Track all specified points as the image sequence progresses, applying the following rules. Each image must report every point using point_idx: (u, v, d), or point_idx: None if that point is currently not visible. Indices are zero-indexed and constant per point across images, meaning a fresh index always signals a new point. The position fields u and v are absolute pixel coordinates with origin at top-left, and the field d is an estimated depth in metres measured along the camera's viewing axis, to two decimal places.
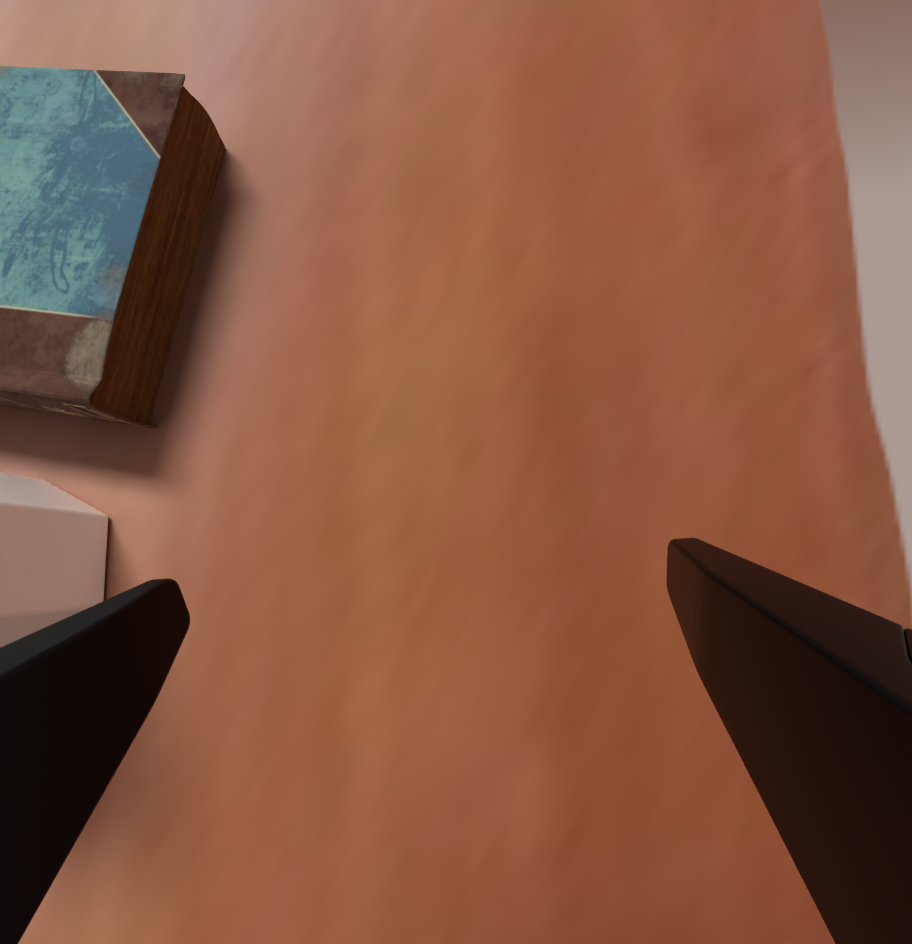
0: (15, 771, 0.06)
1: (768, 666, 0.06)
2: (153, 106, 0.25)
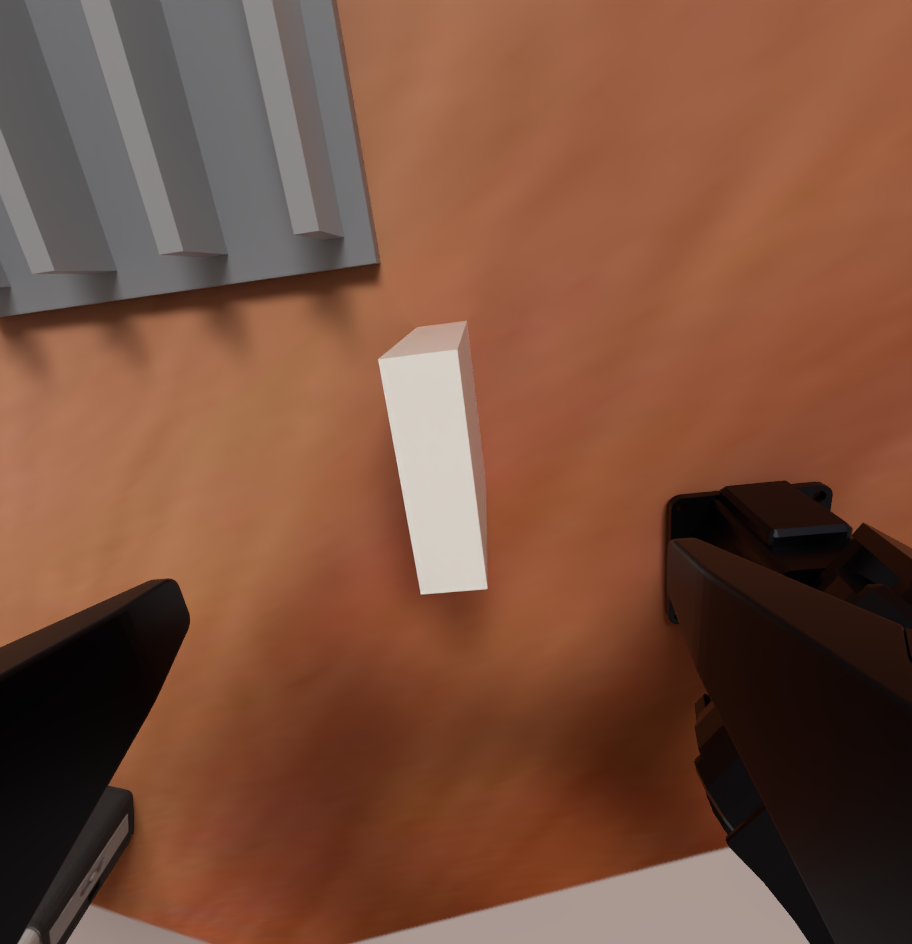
0: (15, 771, 0.06)
1: (768, 666, 0.06)
2: None
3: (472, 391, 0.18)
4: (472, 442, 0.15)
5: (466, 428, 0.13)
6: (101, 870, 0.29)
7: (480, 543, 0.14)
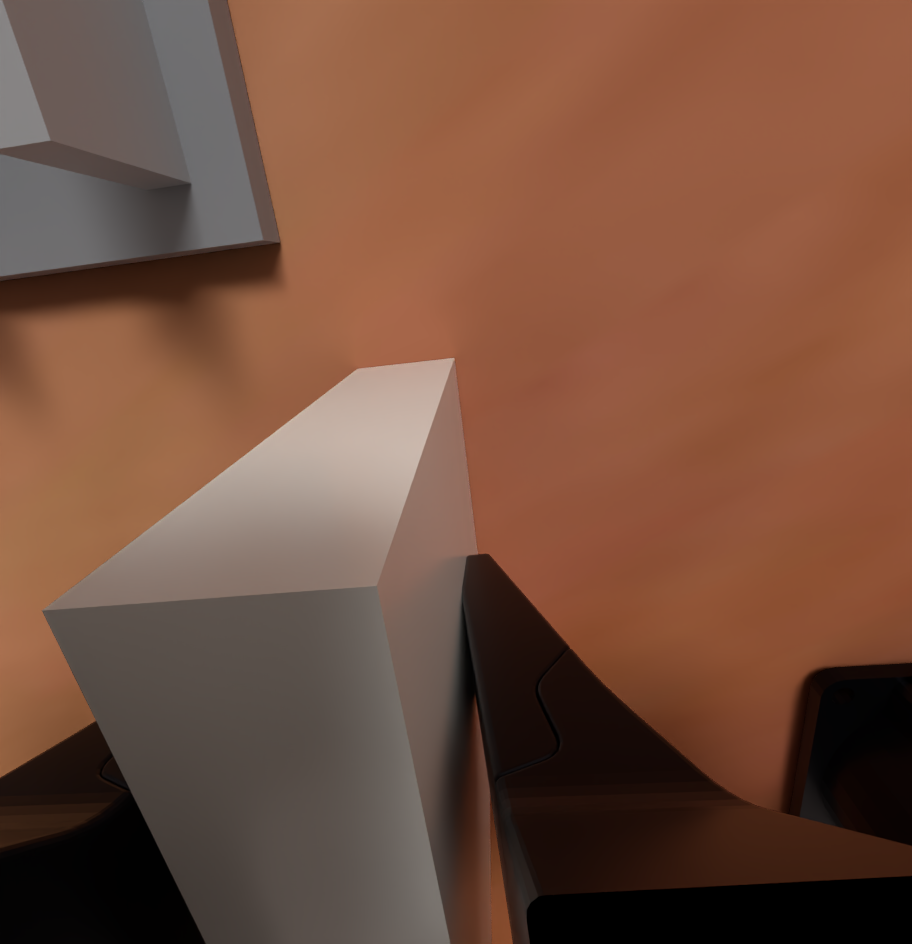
0: None
1: (475, 682, 0.06)
2: None
3: (462, 514, 0.09)
4: (455, 737, 0.05)
5: (425, 833, 0.04)
6: None
7: None
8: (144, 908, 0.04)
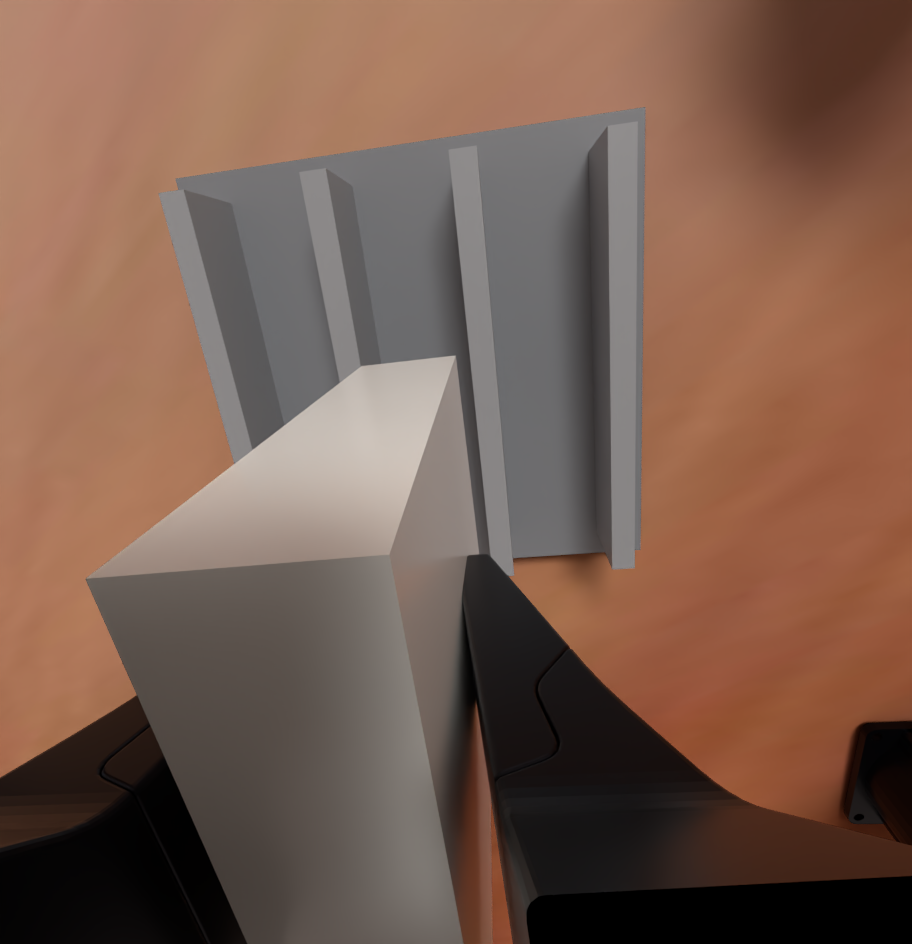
0: None
1: (475, 682, 0.06)
2: None
3: (463, 506, 0.09)
4: (457, 712, 0.06)
5: (431, 788, 0.04)
6: None
7: None
8: (143, 908, 0.04)
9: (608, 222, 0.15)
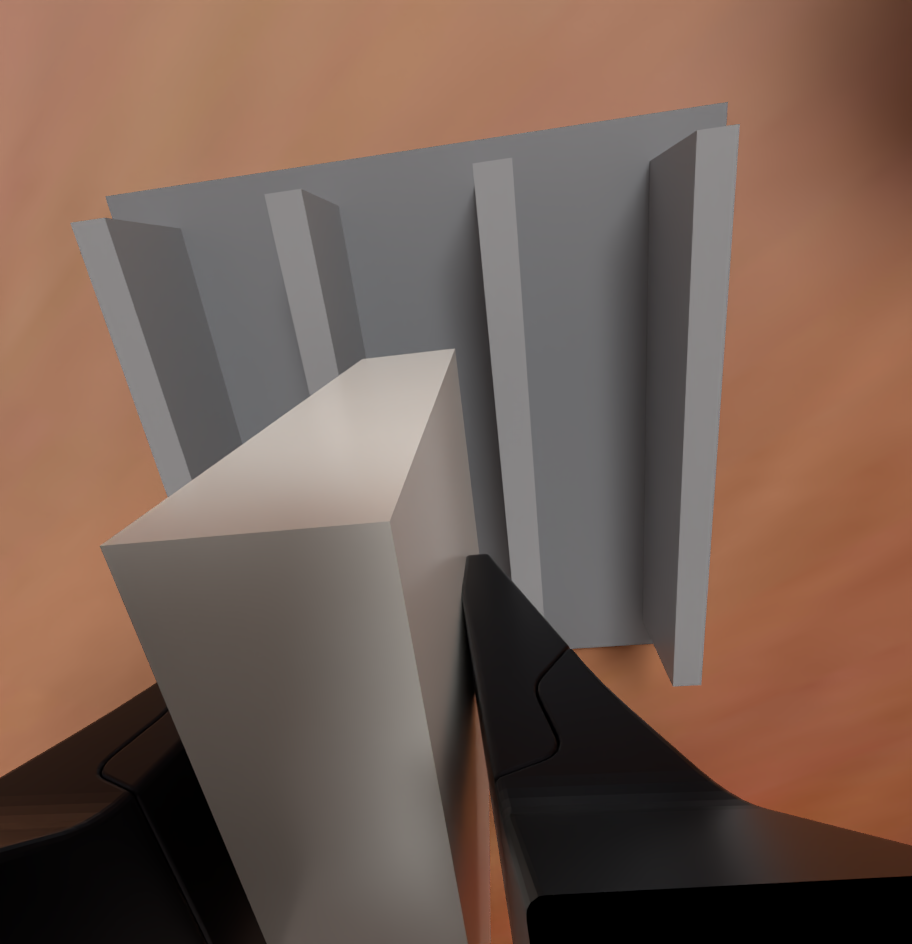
0: None
1: (475, 682, 0.06)
2: None
3: (462, 495, 0.09)
4: (456, 689, 0.06)
5: (430, 751, 0.04)
6: None
7: None
8: (144, 909, 0.04)
9: (690, 262, 0.11)
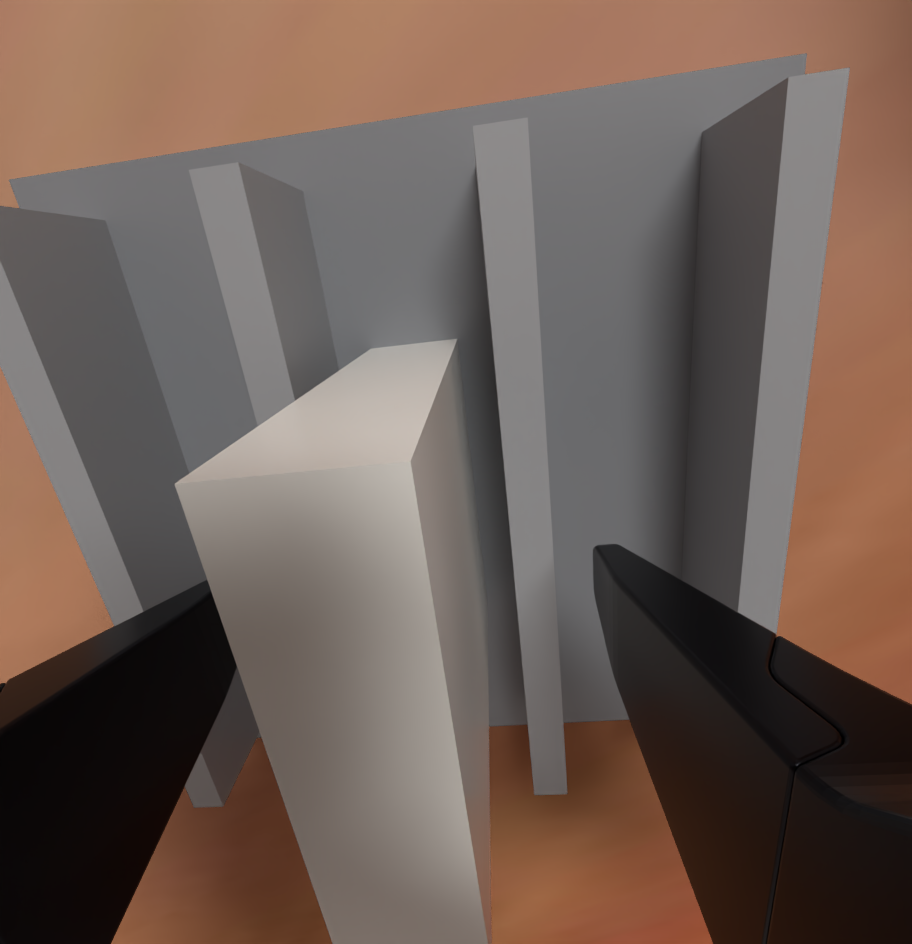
0: (108, 767, 0.06)
1: (657, 672, 0.06)
2: None
3: (464, 472, 0.10)
4: (460, 631, 0.07)
5: (440, 662, 0.05)
6: None
7: (476, 893, 0.06)
8: None
9: (769, 262, 0.08)
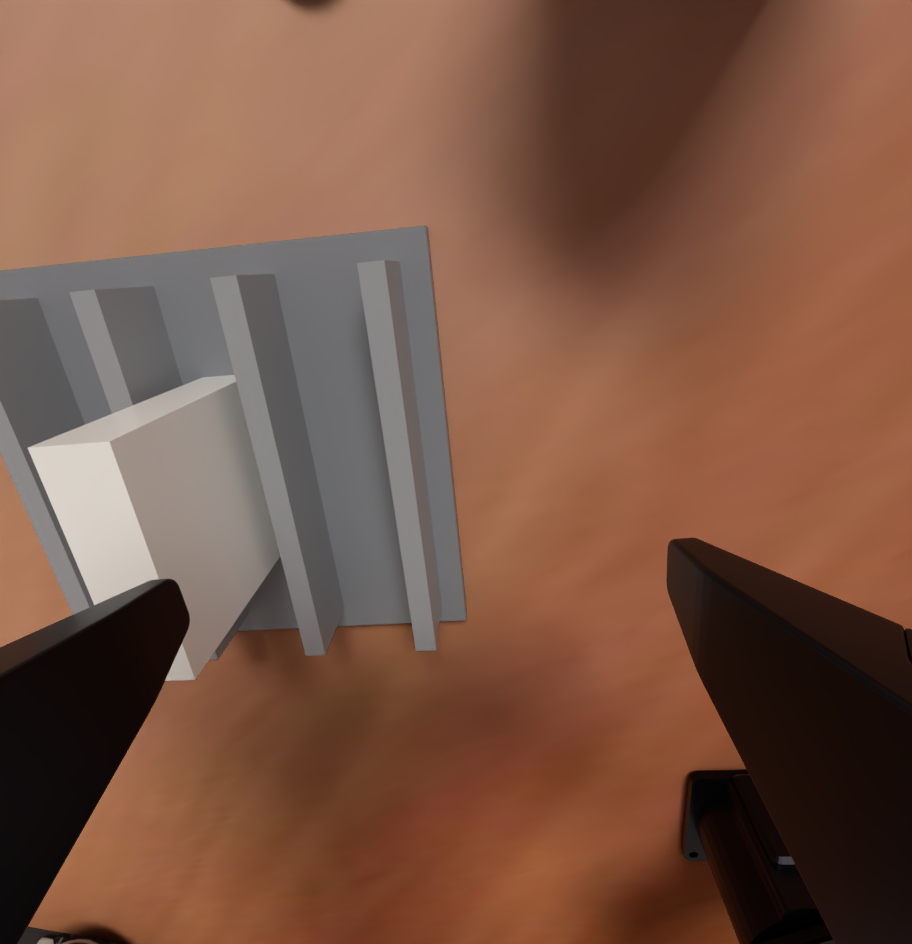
0: (15, 771, 0.06)
1: (768, 666, 0.06)
2: None
3: (239, 453, 0.18)
4: (183, 523, 0.14)
5: (137, 520, 0.12)
6: None
7: None
8: None
9: (370, 347, 0.16)
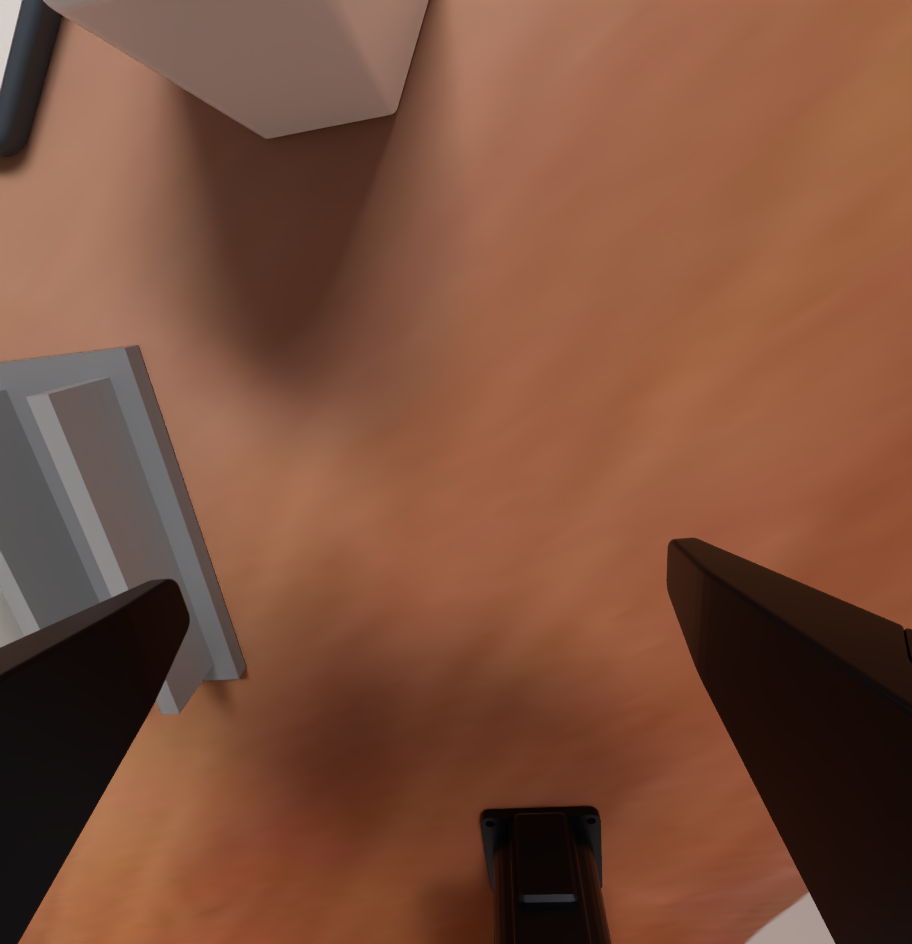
0: (15, 771, 0.06)
1: (768, 666, 0.06)
2: None
3: None
4: None
5: None
6: None
7: None
8: None
9: (56, 463, 0.18)
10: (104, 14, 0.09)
